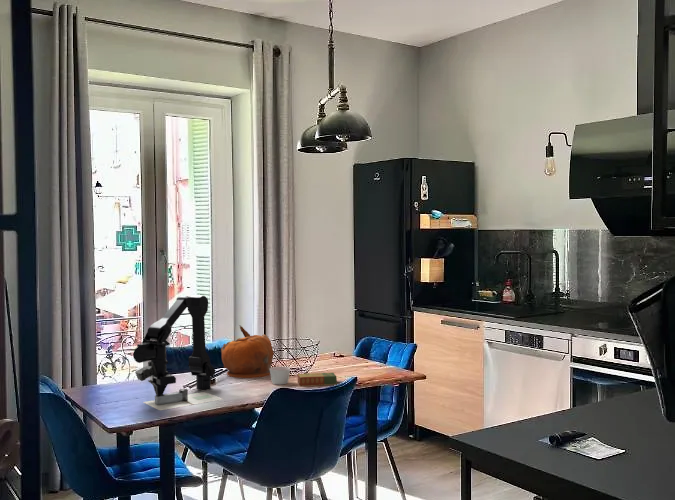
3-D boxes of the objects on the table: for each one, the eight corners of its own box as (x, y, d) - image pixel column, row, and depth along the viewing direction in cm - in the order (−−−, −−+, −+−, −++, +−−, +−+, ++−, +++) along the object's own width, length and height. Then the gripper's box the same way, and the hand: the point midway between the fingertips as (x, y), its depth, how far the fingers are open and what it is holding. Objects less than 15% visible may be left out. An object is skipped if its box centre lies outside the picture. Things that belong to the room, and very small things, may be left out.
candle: (265, 384, 292) (265, 369, 292) (275, 380, 301) (275, 365, 301) (284, 386, 289) (284, 371, 289) (293, 381, 297) (293, 367, 297)
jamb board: (142, 404, 259) (142, 401, 259) (204, 394, 275) (204, 391, 275) (159, 413, 246) (159, 410, 246) (223, 401, 262) (223, 398, 262)
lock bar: (185, 398, 263) (185, 388, 263) (189, 400, 260) (189, 389, 260) (154, 403, 255) (154, 393, 255) (158, 405, 253) (157, 394, 252)
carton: (297, 383, 296) (297, 373, 296) (333, 381, 299) (333, 371, 299) (299, 387, 288) (299, 377, 288) (337, 385, 291) (336, 375, 291)
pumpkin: (213, 373, 317) (213, 325, 316) (257, 366, 333) (257, 320, 333) (241, 380, 300) (240, 330, 300) (286, 372, 317) (285, 324, 316)
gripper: (128, 357, 261) (129, 397, 261) (147, 364, 246) (148, 407, 247) (156, 354, 268) (156, 393, 268) (176, 360, 253) (176, 402, 253)
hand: (158, 399), depth 259 cm, fingers closed
